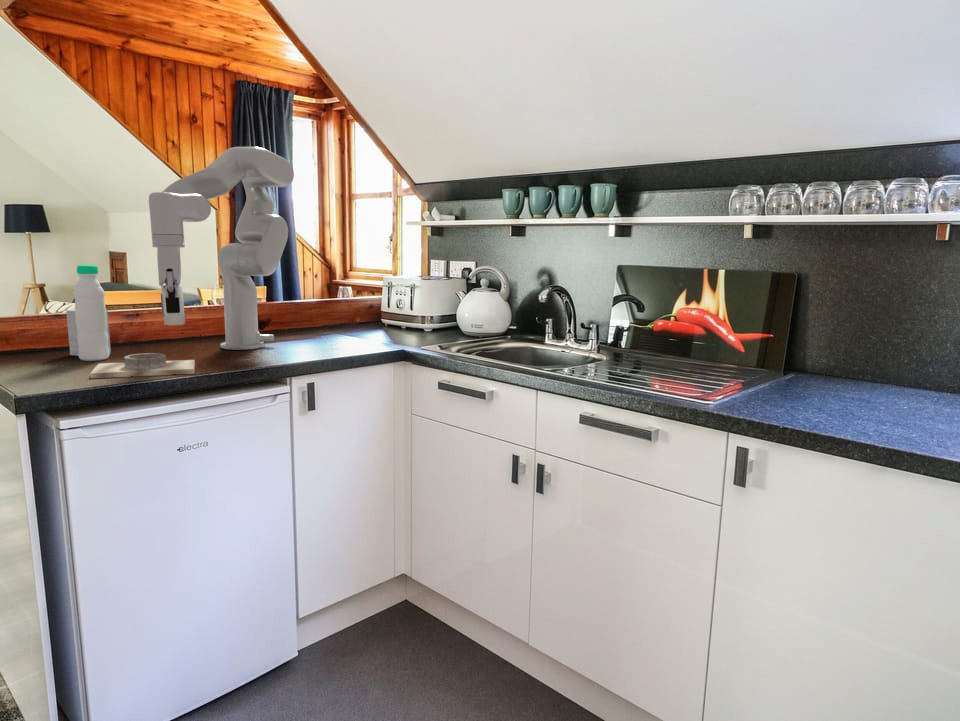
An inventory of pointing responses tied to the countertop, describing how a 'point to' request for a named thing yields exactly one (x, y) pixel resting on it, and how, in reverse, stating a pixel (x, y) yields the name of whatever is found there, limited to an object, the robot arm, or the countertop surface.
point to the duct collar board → (143, 366)
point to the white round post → (173, 317)
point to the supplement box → (73, 332)
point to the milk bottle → (90, 315)
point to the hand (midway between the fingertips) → (173, 310)
